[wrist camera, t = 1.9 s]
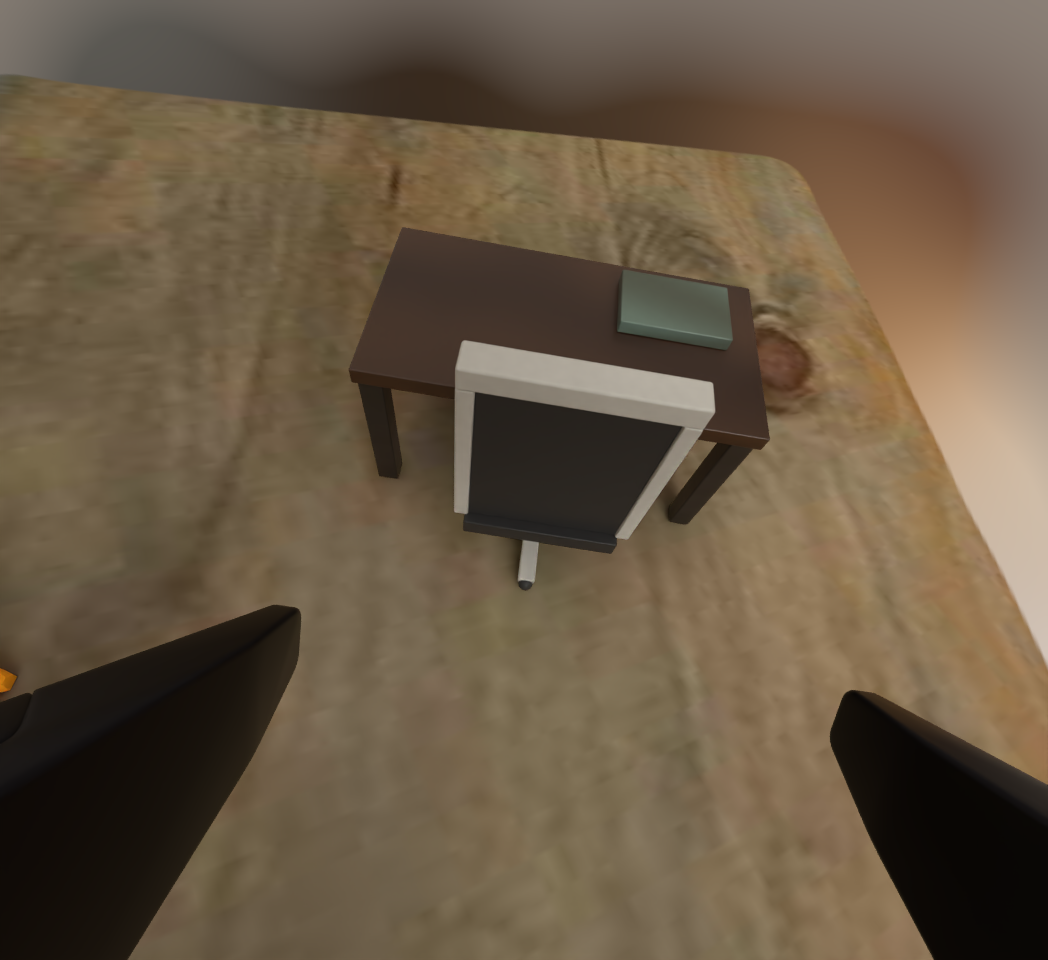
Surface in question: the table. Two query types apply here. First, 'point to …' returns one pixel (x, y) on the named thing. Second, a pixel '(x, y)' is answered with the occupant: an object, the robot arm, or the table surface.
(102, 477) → the table surface
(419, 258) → the desk
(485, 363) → the white black boxy frame
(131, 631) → the table surface
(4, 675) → the toy figure
